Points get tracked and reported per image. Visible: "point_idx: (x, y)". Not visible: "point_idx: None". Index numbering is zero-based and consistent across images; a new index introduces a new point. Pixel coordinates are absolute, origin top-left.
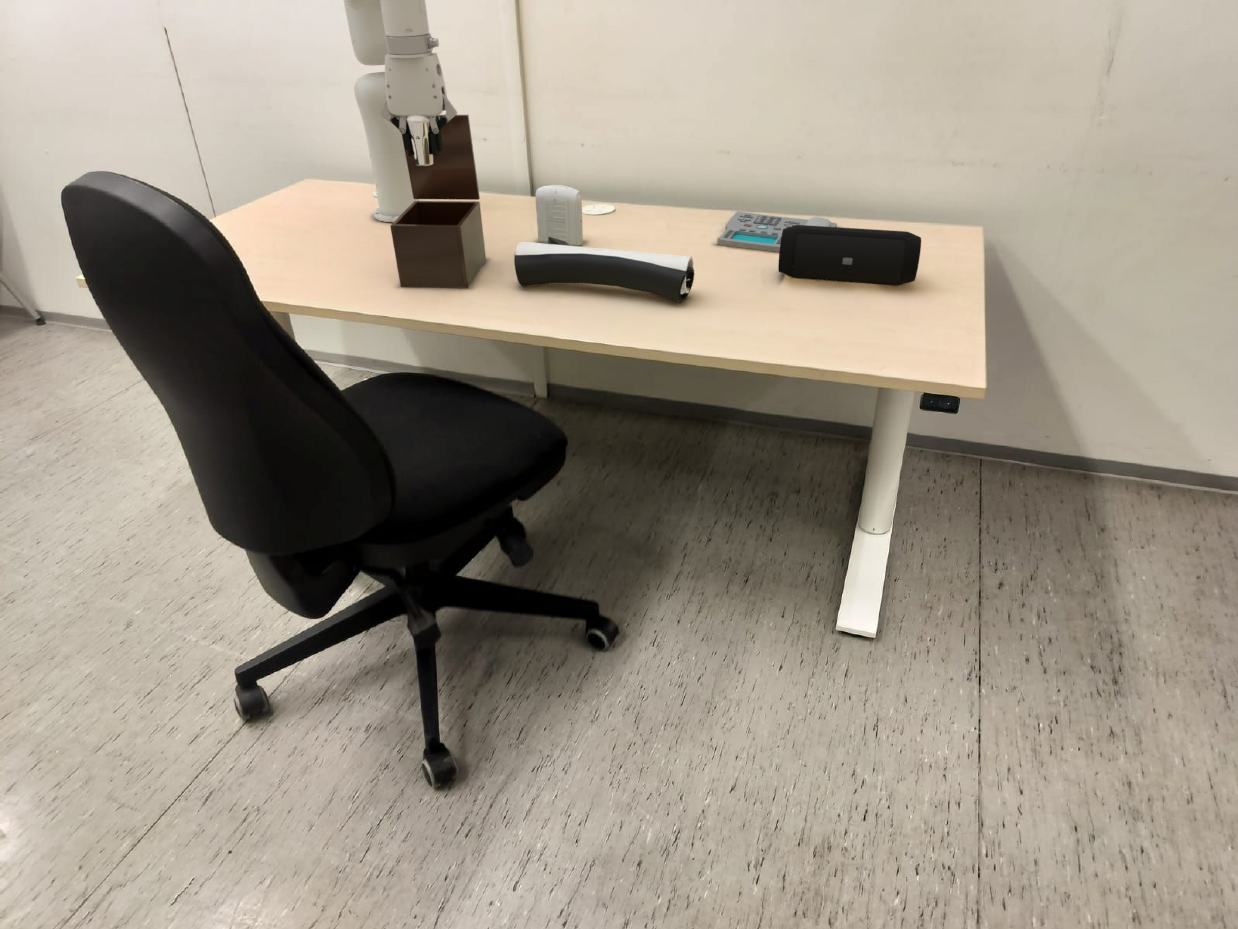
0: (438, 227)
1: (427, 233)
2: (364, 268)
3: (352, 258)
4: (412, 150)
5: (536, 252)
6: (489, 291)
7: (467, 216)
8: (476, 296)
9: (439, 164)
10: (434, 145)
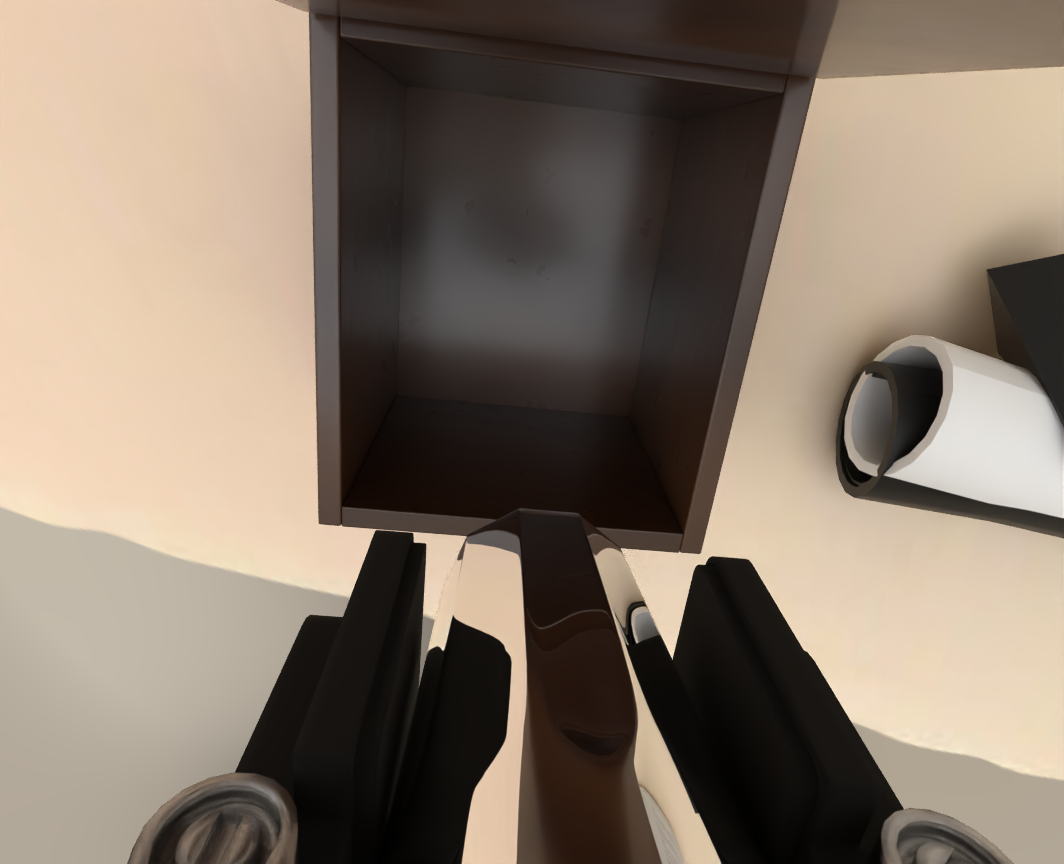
0: None
1: None
2: (148, 183)
3: (17, 27)
4: (414, 699)
5: (981, 494)
6: None
7: (735, 403)
8: None
9: (587, 14)
10: None
